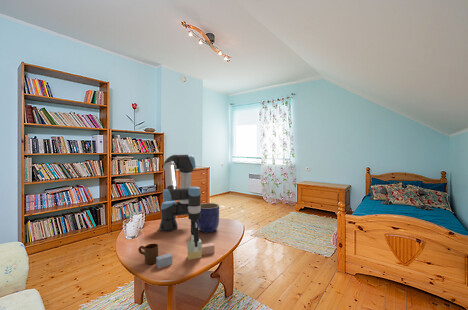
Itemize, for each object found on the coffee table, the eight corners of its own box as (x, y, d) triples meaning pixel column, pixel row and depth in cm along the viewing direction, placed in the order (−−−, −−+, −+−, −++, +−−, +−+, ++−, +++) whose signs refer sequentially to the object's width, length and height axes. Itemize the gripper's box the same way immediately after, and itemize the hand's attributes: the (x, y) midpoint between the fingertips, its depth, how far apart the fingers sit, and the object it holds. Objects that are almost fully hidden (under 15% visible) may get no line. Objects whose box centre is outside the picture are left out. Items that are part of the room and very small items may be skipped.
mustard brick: (188, 259, 127) (188, 251, 127) (187, 256, 131) (187, 248, 131) (201, 257, 130) (201, 249, 130) (200, 254, 134) (200, 247, 134)
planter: (192, 232, 171) (192, 207, 170) (204, 225, 188) (204, 202, 187) (212, 236, 163) (212, 209, 163) (223, 228, 180) (222, 204, 180)
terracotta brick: (202, 255, 133) (202, 247, 133) (201, 252, 137) (200, 244, 137) (214, 253, 136) (214, 245, 136) (212, 250, 140) (212, 242, 140)
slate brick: (158, 268, 118) (158, 259, 118) (156, 265, 121) (156, 256, 121) (172, 264, 123) (172, 255, 122) (170, 261, 126) (170, 253, 126)
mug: (134, 264, 122) (134, 248, 122) (142, 257, 130) (142, 242, 130) (154, 265, 121) (154, 249, 121) (160, 258, 128) (160, 243, 128)
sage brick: (188, 251, 127) (188, 243, 127) (187, 249, 131) (187, 241, 131) (201, 249, 130) (201, 241, 130) (200, 246, 134) (200, 238, 134)
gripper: (186, 208, 139) (186, 242, 140) (190, 217, 119) (191, 257, 119) (197, 207, 142) (197, 240, 142) (204, 216, 122) (204, 255, 122)
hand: (194, 248), depth 131 cm, fingers open, 9 cm apart
